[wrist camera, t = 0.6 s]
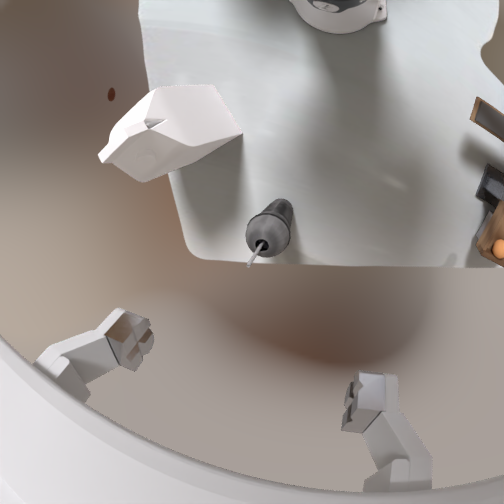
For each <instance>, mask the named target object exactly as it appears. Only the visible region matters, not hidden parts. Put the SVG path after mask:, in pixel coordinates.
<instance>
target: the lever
mask: <svg viewBox="0 0 504 504" xmlns="http://www.w3.org/2000/svg"><path fill="white" fill-rule="evenodd" d="M470 120H471V121H473V122H474V123H476V124H478V125H479V126H481V127H482V128H484V129H485V130H487V131H488V132H490V133H491V134H493V135H494V136H496V137H497V138H499V139H500V140H501V141H503V142H504V114H503V113H501V112H500V111H498V110H497V109H496V108H494V107H493V106H491V105H490V104H488V103H487V102H485V101H484V100H482V99H481V98H479V97H476V100H475V104H474V107H473V110H472V113H471V116H470ZM476 236H477V238H478V239H479V240H478V241H477V243H476V246H477V248H478V250H479V252H480V254H481V256H483V257H485V258H487V259H489V260H491V261H493V262H495V263H497V264H499V265H500V266H502V267H504V258H502V259H499V258H497V257H495V255H494V254H493V250H492V249H493V244H494V243H495V241H497V240H499V239H501V240H504V201H502V200H500V202H499V204H498V206H497V208H496V210H495V212H494V213H493V212H491V211H490V210H489V212H488V214H487V216H486V218H485V220H484V222H483V223H482V225H481V227H480V229H479V230H478V232H477V234H476Z"/></svg>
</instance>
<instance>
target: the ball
mask: <svg viewBox="0 0 504 504" xmlns="http://www.w3.org/2000/svg"><path fill="white" fill-rule="evenodd" d="M492 250H493V254H494V255H495V257H497V258H499V259H502V258H504V240H501V239H499V240H497V241H495V243H494V244H493V249H492Z"/></svg>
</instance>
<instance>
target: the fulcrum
mask: <svg viewBox="0 0 504 504" xmlns="http://www.w3.org/2000/svg"><path fill="white" fill-rule="evenodd" d="M476 195H477V196H478V197H480V198H482V199H483V200H485V201H487V202H488V203H490V204H492V205H493V206H495V207H496V208H497V206H498V204H499V202H500V200H502V201H504V174H503V173H501V172H500V171H498V170H497V169H495V168H494V167H492V166H491V165H489V164H487V166H486V169H485V172H484V174H483V177H482V180H481V182H480V185H479V187H478V190H477V193H476Z"/></svg>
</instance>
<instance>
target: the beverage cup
mask: <svg viewBox="0 0 504 504" xmlns="http://www.w3.org/2000/svg"><path fill="white" fill-rule="evenodd" d="M292 215H293V208H292V205H291V204H290V202H288V201H287V200H285V199H277V200H275V201H273V202H272V203H271V204H270V205H269V206H268V207H267V208H265V209H264V210H263V211H262V212H261V213H260V214H258V215H256V216H255V217H253V218H252V219H251V220H250V222H249V223H248V226H247V230H246V242H247V244H248V246H249V248H250V249H251V251H252V252H253V253H254V254H253V256H252V257H251V259H250V260H249V262H248V264H247V267H250V266H251V264H252V262H253V261H254V259H255V257H256V256H257V255H258V256H261V257H273V256H276V255H278V254H279V253H281V252H282V251H283V250H284V249H285V248H286V247H287V245H288V244H289V241H290V226H291V220H292Z"/></svg>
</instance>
